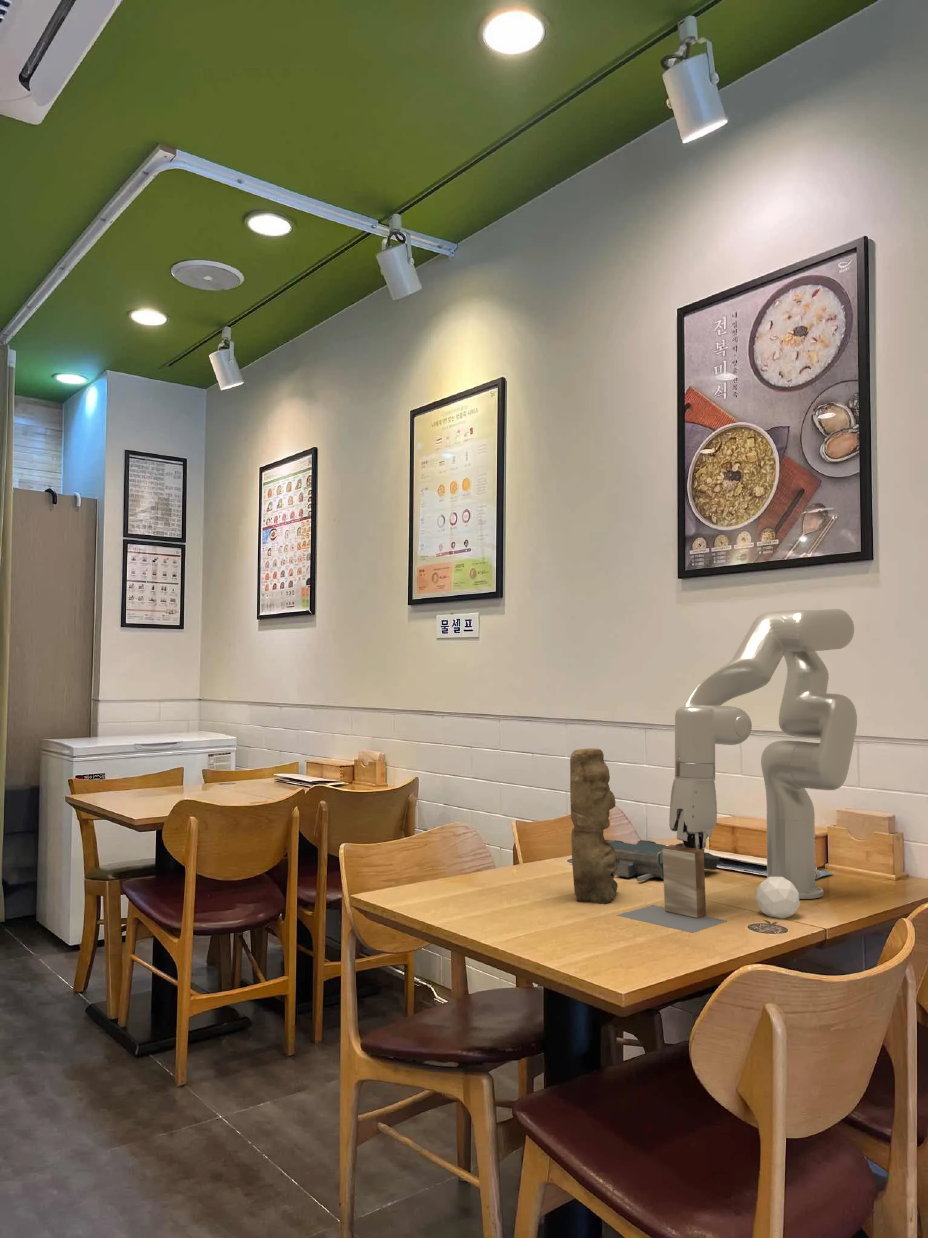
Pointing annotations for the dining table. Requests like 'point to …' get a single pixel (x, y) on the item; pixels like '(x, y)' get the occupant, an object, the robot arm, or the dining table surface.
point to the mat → (671, 919)
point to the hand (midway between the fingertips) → (694, 869)
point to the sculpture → (591, 827)
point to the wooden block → (684, 881)
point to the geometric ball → (777, 897)
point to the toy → (647, 859)
